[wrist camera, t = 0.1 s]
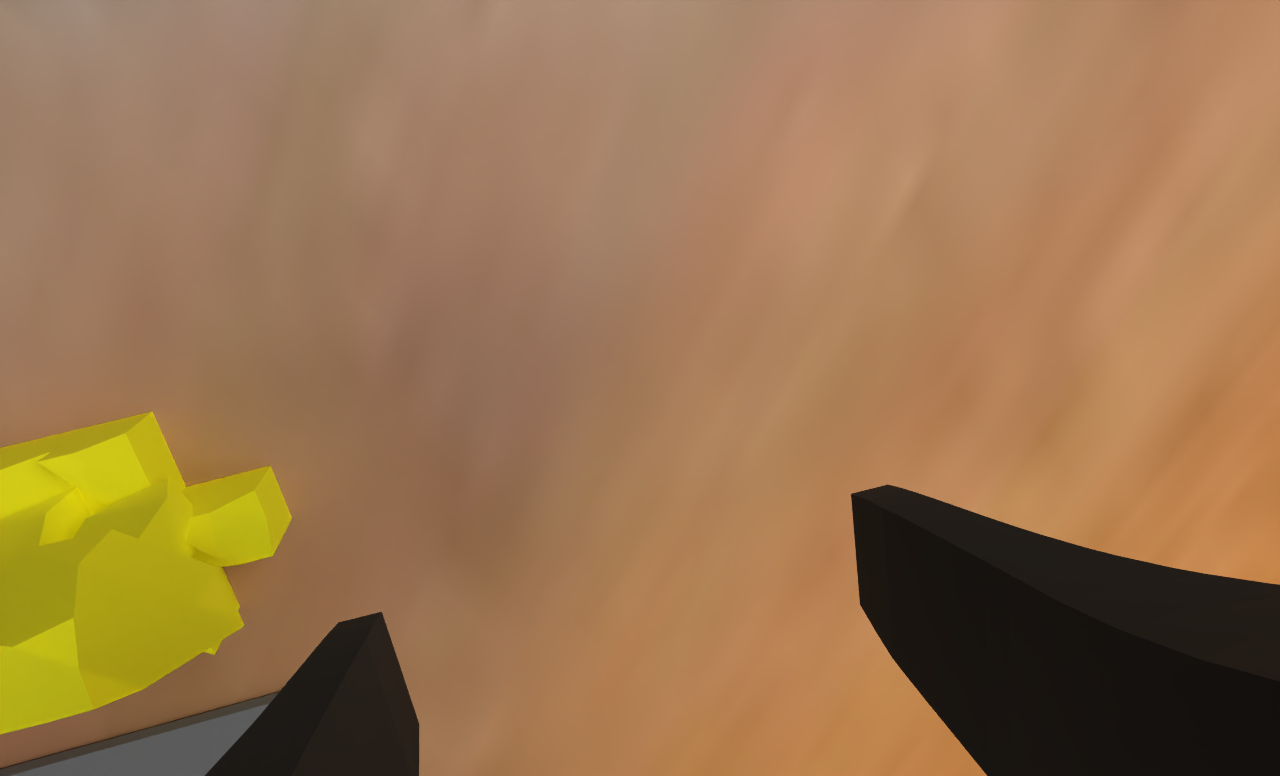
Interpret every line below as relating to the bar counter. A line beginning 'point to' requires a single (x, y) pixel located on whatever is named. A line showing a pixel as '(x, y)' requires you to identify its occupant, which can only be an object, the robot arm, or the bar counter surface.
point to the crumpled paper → (116, 565)
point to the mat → (155, 747)
